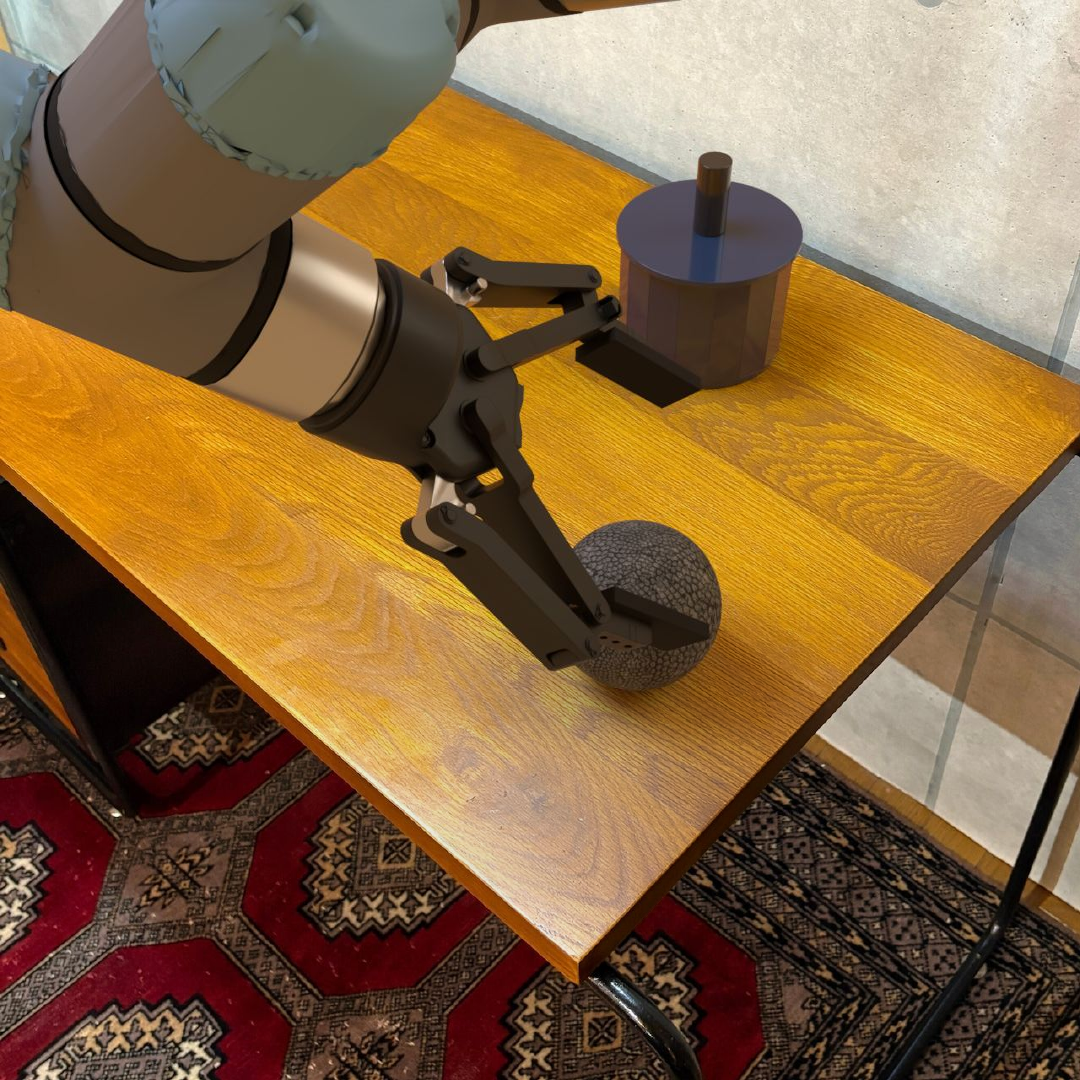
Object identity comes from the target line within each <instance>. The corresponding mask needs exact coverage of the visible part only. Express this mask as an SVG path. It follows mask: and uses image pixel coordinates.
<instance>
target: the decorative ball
mask: <svg viewBox="0 0 1080 1080" xmlns="http://www.w3.org/2000/svg"><path fill="white" fill-rule="evenodd" d="M572 549H573V550H574V552H575V553H576V555H577V556H578V558H579V560H580V561H581V563H582V564H583V566H584V567H585V569H586V570H587V572H588V573H589V575H590V576H591V578H592V579H593V581H594V583H595V584H596V586H597V587H598V589H599V590H600V591H601V590H604V589H607V588H610V587H613V586H616V587H619V588H621V589H624V590H626V591H629V592H631V593H634V594H636V595H639V596H641V597H644V598H646V599H649V600H651V601H654V602H656V603H659V604H661V605H664V606H666V607H669V608H671V609H673V610H676V611H678V612H681V613H683V614H686V615H688V616H691V617H693V618H696V619H698V620H701V621H703V622H706V623H708V624H709V631H710V639H708V640H704V641H701V642H698V643H694V644H691V645H687V646H684V647H681V648H677V649H674V650H670V651H667V652H666V651H663V650H660V649H658V648H655V647H652V646H650V645H645V646H642V647H638V648H635V649H632V650H628V651H623V652H621V651H618V650H615V649H614V648H610V647H608V646H604V645H601V644H600V648H601V651H600V655H599V656H598V658H596V659H594V660H591V661H588V662H584V663H581V664H578V665H575V667H576V668H577V669H578V670H580V671H581V672H582V673H584V674H585V675H587V676H588V677H589V678H591V679H593V680H594V681H596V682H598V683H600V684H602V685H605V686H608V687H611V688H615V689H618V690H625V691H632V692H633V691H639V692H642V691H650V690H651V691H652V690H656V689H660V688H665V687H666V686H669V685H672V684H674V683H676V682H678V681H679V680H681V679H683V678H684V677H686V675H688V674H690V673H691V672H692V671H693V670H694V669H695V668H696V667H697V666H698V665H699V664H700V663H701V662H702V661H703V660H704V659H705V657H706V656H707V654H708V653H709V651H710V650H711V648H712V646H713V645H714V642H715V641H716V638H717V635H718V632H719V629H720V625H721V620H722V613H723V612H722V611H723V597H722V591H721V587H720V583H719V579H718V576H717V574H716V571H715V569H714V567H713V565H712V563H711V562H710V560H709V558H708V557H707V555H706V554H705V552H704V551H703V549H702V548H701V547H700V546H698V544H697V543H696V542H694V541H693V540H692V539H691V538H690V537H689V536H688V535H685V534H684V533H683V532H680V531H679V530H677V529H675V528H673V527H671V526H669V525H667V524H664V523H661V522H657V521H656V522H655V521H651V520H643V519H627V520H619V521H615V522H610V523H608V524H605V525H602V526H600V527H598V528H596V529H594V530H593V531H591V532H589V533H587V534H586V535H585V536H584V537H583V538H581V539H580V540H579V541H578V542H577V543H576V544H574V546H573V547H572Z"/></svg>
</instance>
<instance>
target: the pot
mask: <svg viewBox="0 0 1080 1080" xmlns="http://www.w3.org/2000/svg"><path fill="white" fill-rule="evenodd" d="M619 258H620V262H619V291H618V292H619V293H618V300H619V302H620V303H621V306H622V310H623V313H622V316H621V317H619V318H618V319H617V320H619V321H620V322H622V323H624V324H625V325H627V326H629V327H630V328H632V330H635V331H637V332H639V333H640V334H641V335H642V336H643V337H644V338H645V339H646V340H647V343H648V347H650V348H652V349H653V350H655V351H657V352H658V353H660V354H662V355H664V356H665V357H667V358H669V359H670V360H672V361H674V362H675V363H677V364H679V365H680V366H682V367H684V368H685V369H687V370H689V371H690V372H692V373H694V374H695V375H697V376H699V377H700V378H701V390H705V389H706V390H707V389H709V390H710V389H711V390H712V389H722V388H727V387H732V386H736V385H738V384H742V383H745V382H747V381H750V380H751V379H753V378H755V377H757V376H759V375H760V374H762V373H763V372H764V371H766V369H767V368H768V367H770V366H771V364H772V363H773V361H774V360H775V359H776V357H777V354H778V352H779V350H780V343H781V339H782V333H783V332H782V331H783V326H784V318H785V312H786V307H787V306H786V305H787V300H788V294H789V287H790V281H791V273H792V269H793V262H792V263H791V264H790V265H789V266H788V267H787V268H786V269H784V270H783V271H781V272H780V273H778V274H776V275H774V276H773V277H771V278H768V279H766V280H763V281H760V282H757V283H753V284H750V285H745V286H739V287H732V288H697V287H690V286H684V285H680V284H675V283H672V282H668V281H665V280H662V279H660V278H657V277H655V276H652V275H650V274H649V273H647V272H645V271H643V270H641V269H640V268H639V267H637V266H636V265H634V264H633V263H632V262H631V261H630V260H629V259H628V258H627V257H626V256H625V255H624V253H623V252H622V250H621V249H620V257H619Z"/></svg>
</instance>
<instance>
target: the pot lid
mask: <svg viewBox="0 0 1080 1080" xmlns="http://www.w3.org/2000/svg"><path fill="white" fill-rule="evenodd" d="M697 160H698V161H697V172H696V178H692V179H682V180H677V181H672V182H667V183H663V184H660V185H657V186H654V187H651V188H649V189H647V190H645V191H643V192H641V193H640V194H638V195H636V196H634V197H633V198H632V199H631V200H630V201H628V203H626V204H625V206H624V207H623V208H622V210H621V211H620V213H619V215H618V217H617V219H616V224H615V225H616V226H615V238H616V241H617V245H618V247H619V248H620V251H621V250H622V252H623V253H624V255H625V256H626V257H627V258H628V259H629V260H630V261H631V262H632V263H633V264H634V265H636V266H637V267H639V268H640V269H641V270H643V271H645V272H647V273H649V274H650V275H652V276H655V277H657V278H660V279H662V280H665V281H668V282H672V283H675V284H680V285H684V286H690V287H697V288H732V287H739V286H745V285H750V284H753V283H757V282H760V281H763V280H766V279H768V278H771V277H773V276H774V275H776V274H778V273H780V272H781V271H783V270H784V269H786V268H787V267H788V266H789V265H790V264H791V263H792V264H793V262H794V261H795V260H796V258H797V257H798V256H799V254H800V252H801V250H802V246H803V241H804V229H803V226H802V223H801V221H800V219H799V217H798V215H797V214H796V212H795V211H794V210H793V209H792V208H791V207H790V206H789V205H788V204H787V203H785V202H784V201H783V200H782V199H780V198H779V197H777V196H775V195H773V194H772V193H770V192H768V191H766V190H763V189H762V188H758V187H755V186H752V185H750V184H749V185H748V184H745V183H742V182H737V181H732V173H733V164H734V162H733V158H732V156H731V155H730V154H727V153H726V152H722V151H717V150H716V151H715V150H714V151H707V152H704V153H702V154H700V156H699V157H698V159H697Z"/></svg>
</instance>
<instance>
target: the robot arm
mask: <svg viewBox="0 0 1080 1080" xmlns="http://www.w3.org/2000/svg"><path fill="white" fill-rule="evenodd" d="M679 1H681V0H122V1H121V3H120V4H119V5H118V6H117V7H116V9H115V10H114V11H113V13H112V14H111V15H110V16H109V18H108V19H107V20H106V22H105V23H104V24H103V25H102V27H101V29H99V30H98V32H97V33H96V35H94V37H93V39H92V40H91V41H90V42H89V44H87V46H86V47H85V49H84V50H83V51H82V53H81V54H79V56H77V58H75V60H74V61H73V62H71V63H70V64H69V65H68V66H67V67H65V69H63V71H61V72H60V73H59V75H57V74H56V73H55V72H53V71H52V69H50V68H49V67H48V65H46V64H45V63H43V62H42V63H43V64H42V63H34V62H33V61H30V60H27V59H26V58H23V57H20V56H18V55H15V54H13V53H11V52H9V51H6V50H4V49H3V48H0V309H2V310H4V311H7V312H9V313H13V312H15V313H17V314H20V315H22V316H25V317H27V318H31V319H33V320H35V321H37V322H40V323H43V324H45V325H47V326H49V327H52V328H55V329H57V330H60V331H62V332H65V333H67V334H69V335H72V336H74V337H77V338H80V339H81V340H84V341H87V342H90V343H91V344H94V345H97V346H99V347H102V348H104V349H107V350H109V351H112V352H114V353H117V354H119V355H121V356H124V357H126V358H129V359H131V360H134V361H136V362H139V363H141V364H144V365H146V366H149V367H150V368H154V369H156V370H157V371H161V372H164V373H165V374H169V375H170V376H174V377H176V378H178V377H179V378H181V379H183V380H185V381H188V382H191V383H193V384H194V385H197V386H199V387H201V388H204V389H206V390H208V391H211V392H213V393H216V394H219V395H221V396H223V397H225V398H228V399H230V400H233V401H235V402H237V403H240V404H242V405H244V406H247V407H250V408H252V409H254V410H256V411H259V412H261V413H263V414H266V415H268V416H270V417H273V418H275V419H278V420H281V421H282V422H285V423H287V424H290V423H297V424H298V426H299V427H300V428H301V430H303V431H304V432H306V433H308V434H310V435H312V436H315V437H317V438H320V439H322V440H325V441H327V442H329V443H331V444H334V445H336V446H339V447H341V448H343V449H346V450H348V451H350V452H353V453H355V454H358V455H359V456H362V457H365V458H366V459H367V458H368V459H372V460H376V461H381V462H385V463H391V464H395V465H397V466H401V467H402V468H404V469H405V470H407V471H408V472H409V473H410V474H411V475H412V476H413V477H414V478H415V480H417V482H418V483H419V484H420V492H419V496H418V497H419V499H418V502H417V508H416V513H415V515H413V516H411V517H409V518H407V519H405V520H404V521H402V523H401V525H400V528H399V533H400V536H401V539H402V541H403V542H404V544H405V545H407V546H408V547H410V548H411V549H414V550H415V551H418V552H420V553H421V554H423V555H425V556H427V557H429V558H431V559H433V560H435V561H437V562H439V563H440V564H442V565H443V566H444V567H445V568H446V569H447V570H448V572H449V573H451V574H452V576H454V577H455V578H456V579H457V580H458V581H459V582H460V583H461V584H462V585H463V586H464V587H465V588H466V590H468V592H470V594H471V595H472V596H474V597H475V598H476V599H477V600H478V601H479V602H480V604H482V605H483V606H484V607H485V608H486V609H487V610H488V611H489V612H490V613H491V614H492V615H493V616H494V617H495V618H496V620H498V622H500V623H501V624H502V625H503V626H504V627H505V628H506V629H507V630H508V632H510V633H511V634H512V635H513V636H514V637H515V638H516V640H517V641H519V642H520V643H521V644H522V645H523V646H524V647H525V648H526V650H528V651H529V653H530V654H532V655H533V656H534V657H535V658H536V659H537V660H538V661H539V662H540V663H541V664H542V665H543V667H545V668H546V669H547V670H548V671H550V672H558V671H561V670H565V669H568V668H572V667H574V666H575V667H576V665H578V664H581V663H584V662H588V661H591V660H594V659H596V658H598V656H599V655H600V651H601V648H600V644H601V645H604V646H608V647H610V648H614V649H615V650H618V651H621V652H623V651H628V650H632V649H635V648H638V647H642V646H645V645H650V646H652V647H655V648H658V649H660V650H663V651H666V652H667V651H670V650H674V649H677V648H681V647H684V646H687V645H691V644H694V643H698V642H701V641H704V640H708V639H710V631H709V624H708V623H706V622H703V621H701V620H698V619H696V618H693V617H691V616H688V615H686V614H683V613H681V612H678V611H676V610H673V609H671V608H669V607H666V606H664V605H661V604H659V603H656V602H654V601H651V600H649V599H646V598H644V597H641V596H639V595H636V594H634V593H631V592H629V591H626V590H624V589H621V588H619V587H616V586H613V587H610V588H607V589H604V590H601V591H600V590H599V589H598V587H597V586H596V584H595V583H594V581H593V579H592V578H591V576H590V575H589V573H588V572H587V570H586V569H585V567H584V566H583V564H582V563H581V561H580V560H579V558H578V556H577V555H576V553H575V552H574V550H573V549H572V548H573V547H572V546H571V544H570V542H569V541H568V539H567V538H566V537H565V535H564V533H563V532H562V530H561V529H560V527H559V526H558V524H557V523H556V521H555V520H554V518H553V517H552V515H551V514H550V512H549V510H548V509H547V507H546V505H545V503H543V501H542V499H541V498H540V496H539V494H537V492H536V490H535V488H534V486H533V485H534V482H535V473H534V471H533V469H532V468H531V467H530V465H529V464H528V462H527V460H526V459H525V457H524V456H523V454H522V453H521V451H520V449H522V448H523V429H522V423H521V422H522V421H521V415H520V414H521V410H522V407H523V403H524V394H525V386H524V385H523V384H522V383H519V379H518V377H517V374H516V372H515V369H517V368H520V367H522V366H524V365H527V364H529V363H531V362H533V361H535V360H538V359H540V358H543V357H545V356H547V355H549V354H551V353H554V352H557V351H558V350H561V349H563V348H566V347H568V346H570V345H572V344H574V343H577V342H580V343H581V344H580V345H579V346H576V347H575V348H574V349H575V354H574V355H575V356H574V357H575V360H574V361H575V362H576V363H579V364H580V365H582V366H584V367H586V368H587V369H589V370H591V371H593V372H594V373H596V374H598V375H600V376H602V377H604V378H606V379H607V380H609V381H611V382H612V383H614V384H616V385H618V386H620V387H622V388H623V389H625V390H627V391H629V392H630V393H633V394H634V395H636V396H638V397H640V398H642V399H643V400H645V401H647V402H648V403H650V404H653V405H654V406H656V407H658V408H660V409H664V408H667V407H669V406H672V405H673V404H675V403H678V402H680V401H682V400H684V399H686V398H688V397H690V396H692V395H695V394H696V393H699V392H701V391H702V389H701V378H700V377H699V376H697V375H695V374H694V373H692V372H690V371H689V370H687V369H685V368H684V367H682V366H680V365H679V364H677V363H675V362H674V361H672V360H670V359H669V358H667V357H665V356H664V355H662V354H660V353H658V352H657V351H655V350H653V349H652V348H650V347H648V343H647V340H646V339H645V338H644V337H643V336H642V335H641V334H640V333H639V332H637V331H635V330H632V328H630V327H629V326H627V325H625V324H624V323H622V322H620V321H619V320H618V318H619V317H621V316H622V313H623V310H622V306H621V303H620V302H619V298H617V296H616V295H613V294H607V295H605V296H603V297H602V298H600V299H599V295H598V291H597V290H598V289H599V288H601V287H602V284H603V280H602V275H601V273H600V271H599V270H598V269H597V268H596V267H595V266H594V265H592V264H591V265H590V264H577V263H576V264H575V263H574V264H573V263H556V262H537V261H536V262H534V261H514V260H513V261H512V260H493V259H490V258H489V257H487V256H484V255H483V254H480V253H478V252H476V251H474V250H471V249H469V248H468V247H465V246H457V247H455V248H454V249H452V250H451V251H450V252H448V253H447V254H446V255H444V256H443V257H440V259H438V260H436V261H435V262H434V263H432V264H431V265H429V266H427V267H426V268H425V269H424V270H422V271H421V272H420V275H419V276H417V275H415V274H413V273H412V272H410V271H408V270H406V269H405V268H402V267H401V266H399V265H397V264H395V263H393V261H389V260H388V259H386V258H379V257H377V258H374V256H373V254H372V250H369V249H368V248H366V247H365V246H363V245H361V244H360V243H358V242H356V241H354V240H352V239H351V238H349V237H347V236H345V235H343V234H341V233H339V232H338V231H336V230H334V229H332V228H330V227H329V226H327V225H325V224H323V223H321V222H319V221H317V220H315V219H313V218H312V217H309V215H306V214H305V213H302V212H300V211H301V210H302V209H304V208H305V207H307V205H309V204H310V203H312V202H313V201H315V199H317V198H319V196H321V195H323V193H325V192H326V191H327V190H328V189H330V188H331V187H333V186H334V185H335V184H337V183H338V182H339V181H341V180H342V179H343V178H344V177H346V176H347V175H348V174H349V173H351V172H352V171H353V170H355V169H362V168H364V167H366V166H368V165H369V164H371V163H372V162H374V161H375V160H377V159H378V158H380V157H381V156H383V155H384V154H386V153H387V152H388V149H389V147H390V145H391V143H392V142H393V141H394V140H395V139H396V138H398V136H399V135H401V134H402V133H403V132H404V131H405V130H406V129H407V128H409V126H410V125H412V123H414V121H415V120H416V119H417V117H418V116H419V114H420V113H422V112H423V111H424V110H425V109H426V108H427V107H428V106H429V105H430V104H431V103H433V102H434V101H435V100H436V99H437V98H438V97H439V95H440V94H441V93H442V92H443V90H444V89H445V87H446V86H447V85H448V83H449V81H450V79H451V77H452V76H453V73H454V71H455V69H456V66H457V56H458V55H459V54H460V53H461V52H462V51H463V50H464V49H465V47H466V46H467V45H469V43H470V42H471V41H472V40H473V39H474V38H475V37H476V36H477V35H478V34H479V33H480V32H481V31H482V30H485V29H487V28H488V27H492V26H496V25H500V24H501V25H502V24H510V23H519V22H527V21H534V20H543V19H544V20H545V19H551V18H558V17H567V16H574V15H580V14H583V13H587V12H593V11H603V10H611V9H619V8H629V7H636V6H638V7H639V6H645V5H646V6H647V5H654V4H660V3H671V2H679ZM470 308H472V309H473V308H474V309H476V308H477V309H481V308H482V309H496V308H497V309H498V308H499V309H562V313H563V314H562V315H560V316H557V317H553V318H552V319H549V320H547V321H544V322H541V323H540V324H536V325H534V326H531V327H529V328H523V329H521V330H518V331H515V332H513V333H510V334H508V335H505V336H503V337H500V338H498V339H493V338H492V337H491V335H490V334H489V332H488V331H487V330H486V328H485V327H484V326H483V324H482V322H481V321H480V320H479V319H478V317H477V316H476V314H475V312H473V310H471V309H470ZM495 469H496V470H498V472H499V474H500V475H501V476H502V478H500V479H498V480H496V481H494V482H492V483H490V484H483V483H482V482H481V481H480V479H479V477H481V476H482V475H485V474H487V473H489V472H491V471H494V470H495Z"/></svg>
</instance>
